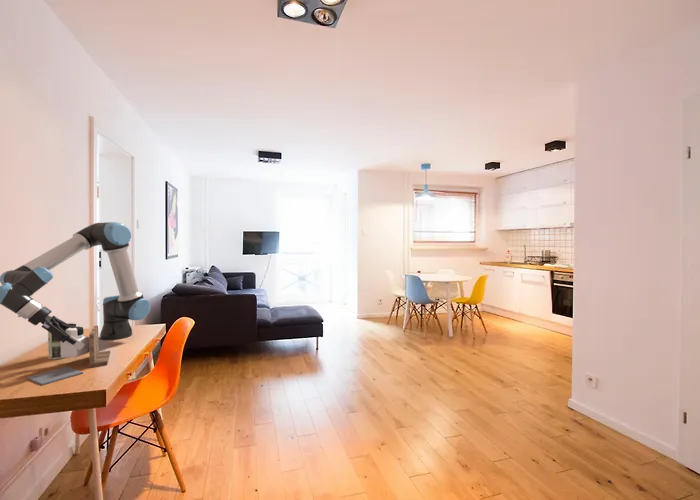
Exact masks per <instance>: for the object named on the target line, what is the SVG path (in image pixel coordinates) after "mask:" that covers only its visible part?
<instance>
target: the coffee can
mask: <svg viewBox="0 0 700 500" xmlns="http://www.w3.org/2000/svg"><path fill="white" fill-rule="evenodd" d="M68 324H69V325H70V326H72V327H77V324H76V323H68ZM47 334H48V335H47V336H48V342H47V343H48V346H47V347H48V359H49V360H62V359H67V358H69V357H61V344H60V341H61V340H59V339H58V338H57V337H55V336H54V335H53V334H51V333H50V332H49V331H47Z"/></svg>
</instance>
